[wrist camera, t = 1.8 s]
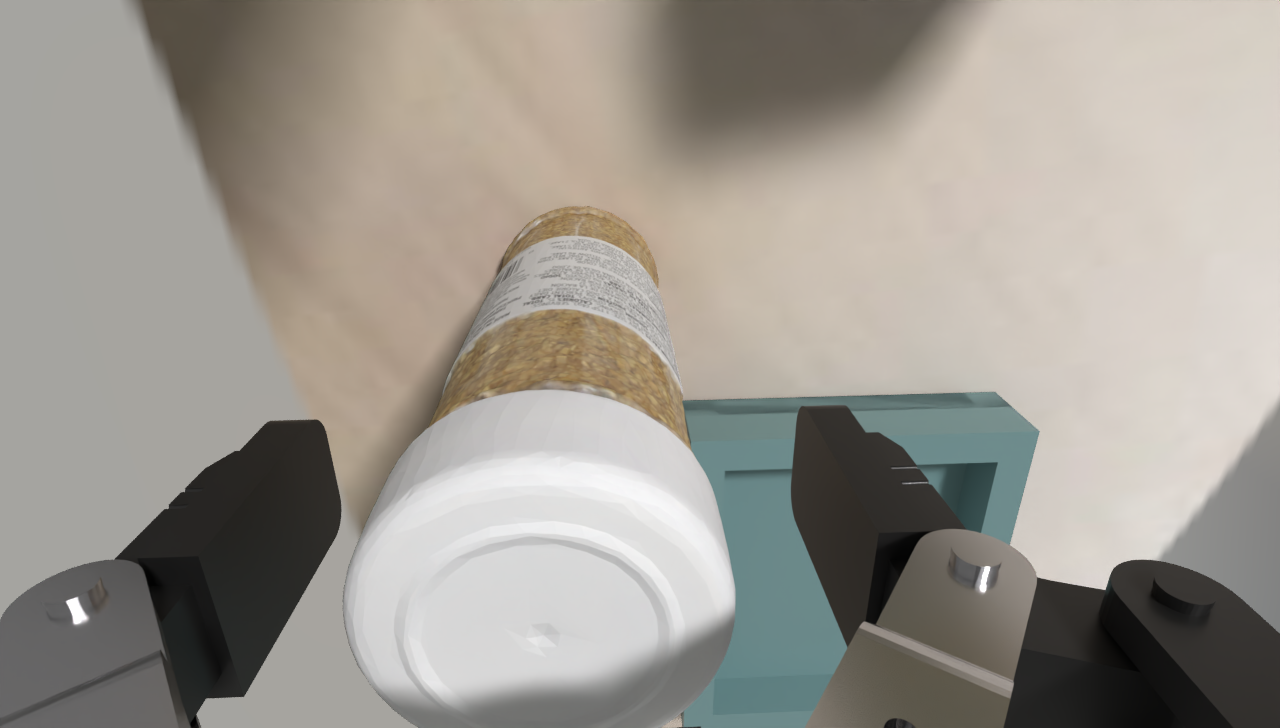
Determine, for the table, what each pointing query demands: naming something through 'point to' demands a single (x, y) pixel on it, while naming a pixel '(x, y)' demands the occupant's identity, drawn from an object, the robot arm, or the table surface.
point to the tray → (776, 554)
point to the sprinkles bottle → (549, 510)
